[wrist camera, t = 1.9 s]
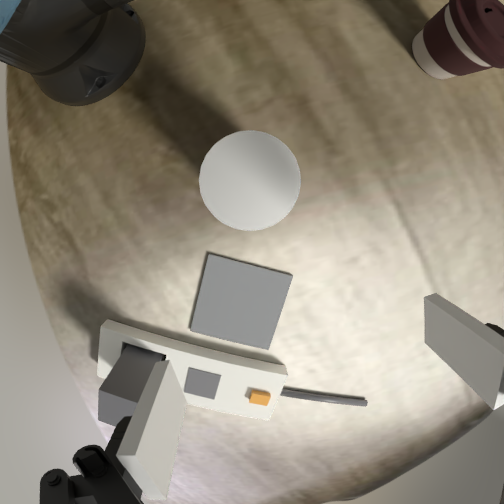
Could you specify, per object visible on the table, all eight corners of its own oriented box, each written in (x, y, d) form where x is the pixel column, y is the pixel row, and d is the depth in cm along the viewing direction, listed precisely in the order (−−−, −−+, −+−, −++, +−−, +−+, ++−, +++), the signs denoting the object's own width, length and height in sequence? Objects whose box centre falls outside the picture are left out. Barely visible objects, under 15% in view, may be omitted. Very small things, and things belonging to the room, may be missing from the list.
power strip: (103, 367, 40) (95, 379, 37) (107, 318, 39) (98, 328, 36) (353, 420, 44) (359, 433, 40) (375, 380, 42) (383, 392, 39)
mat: (190, 329, 39) (190, 331, 39) (209, 253, 37) (208, 254, 37) (268, 348, 40) (268, 349, 40) (292, 275, 38) (292, 276, 38)
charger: (128, 366, 40) (98, 420, 29) (131, 338, 39) (98, 389, 28) (160, 376, 41) (137, 434, 29) (165, 348, 40) (141, 404, 28)
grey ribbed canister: (288, 193, 36) (320, 201, 22) (234, 223, 37) (229, 249, 22) (259, 140, 35) (272, 111, 20) (204, 169, 35) (180, 160, 21)
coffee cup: (464, 95, 34) (537, 73, 19) (407, 82, 34) (477, 46, 19) (453, 34, 32) (515, 0, 17) (396, 18, 32) (452, -32, 17)
